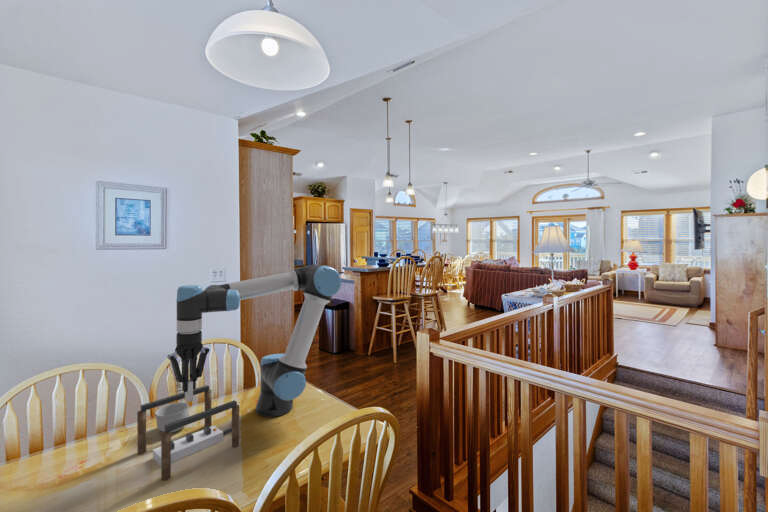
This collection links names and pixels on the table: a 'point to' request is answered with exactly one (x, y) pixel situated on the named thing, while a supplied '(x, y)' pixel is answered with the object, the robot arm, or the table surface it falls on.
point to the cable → (199, 416)
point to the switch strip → (192, 443)
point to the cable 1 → (172, 398)
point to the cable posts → (167, 435)
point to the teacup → (171, 414)
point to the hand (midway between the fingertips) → (188, 399)
